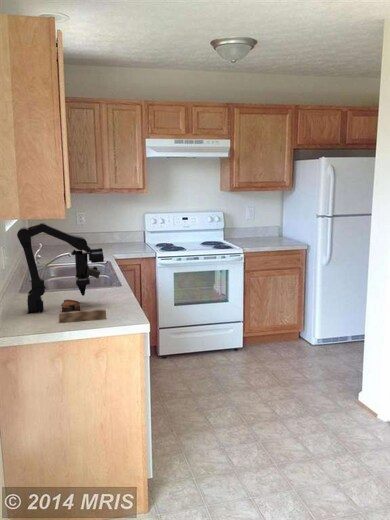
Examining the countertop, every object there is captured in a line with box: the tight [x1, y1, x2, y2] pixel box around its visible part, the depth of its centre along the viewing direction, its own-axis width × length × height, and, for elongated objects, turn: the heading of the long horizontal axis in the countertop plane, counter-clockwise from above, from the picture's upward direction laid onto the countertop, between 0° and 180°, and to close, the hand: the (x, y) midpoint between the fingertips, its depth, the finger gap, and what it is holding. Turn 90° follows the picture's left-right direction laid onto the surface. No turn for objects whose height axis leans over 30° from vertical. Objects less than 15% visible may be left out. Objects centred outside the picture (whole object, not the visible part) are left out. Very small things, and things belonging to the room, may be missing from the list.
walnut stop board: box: [58, 308, 107, 324], centre depth 207 cm, size 20×2×4 cm, turn 105°
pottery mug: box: [60, 299, 82, 312], centre depth 215 cm, size 12×10×8 cm
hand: (83, 295), depth 226 cm, fingers closed
